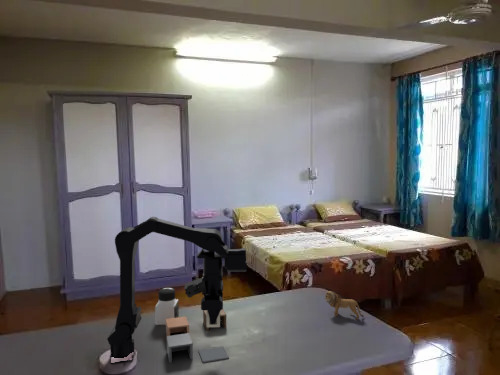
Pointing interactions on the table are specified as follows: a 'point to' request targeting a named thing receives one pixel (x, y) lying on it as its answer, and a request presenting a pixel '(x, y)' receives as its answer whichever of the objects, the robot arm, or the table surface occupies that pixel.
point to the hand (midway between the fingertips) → (213, 321)
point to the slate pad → (213, 354)
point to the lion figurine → (342, 303)
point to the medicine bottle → (166, 306)
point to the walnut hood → (222, 318)
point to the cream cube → (217, 323)
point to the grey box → (179, 345)
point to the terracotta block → (177, 325)
